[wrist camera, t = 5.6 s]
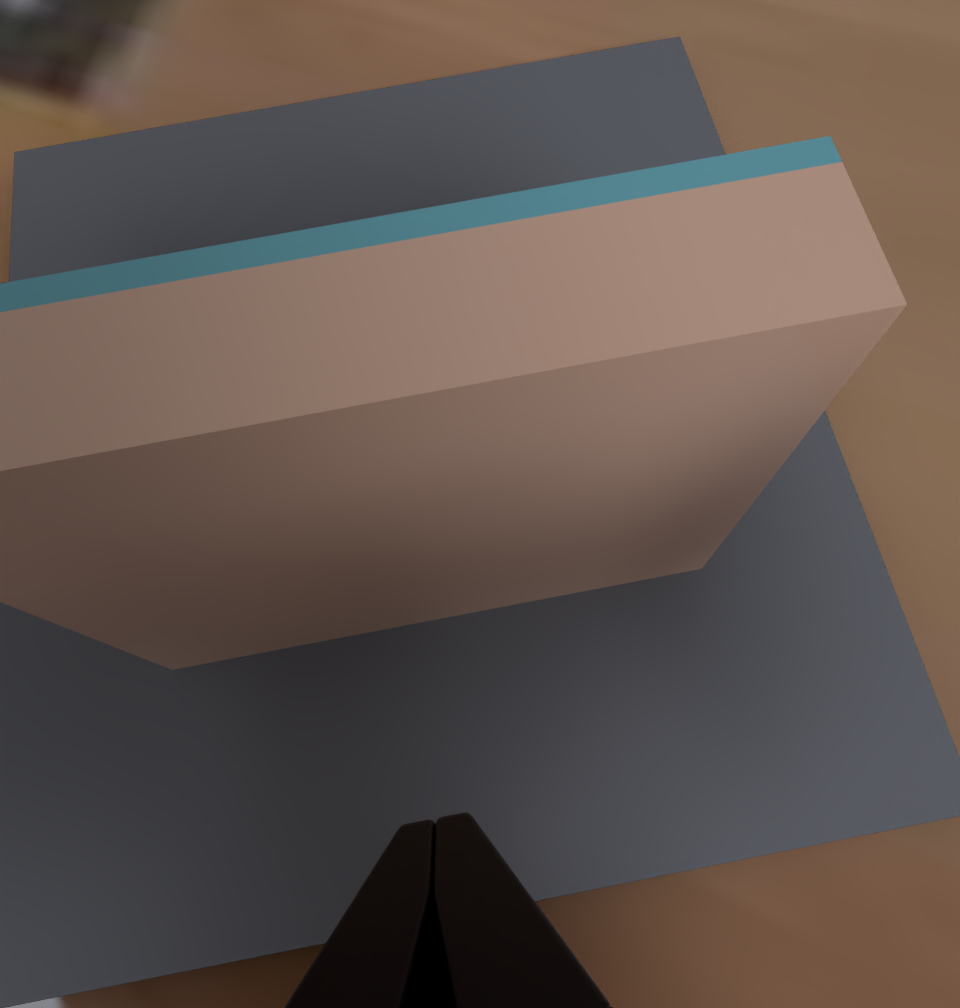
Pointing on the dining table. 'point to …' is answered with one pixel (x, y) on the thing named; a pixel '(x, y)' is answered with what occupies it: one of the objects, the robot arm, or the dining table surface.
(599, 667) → the mat
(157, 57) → the dining table surface
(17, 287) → the tile
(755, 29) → the dining table surface
